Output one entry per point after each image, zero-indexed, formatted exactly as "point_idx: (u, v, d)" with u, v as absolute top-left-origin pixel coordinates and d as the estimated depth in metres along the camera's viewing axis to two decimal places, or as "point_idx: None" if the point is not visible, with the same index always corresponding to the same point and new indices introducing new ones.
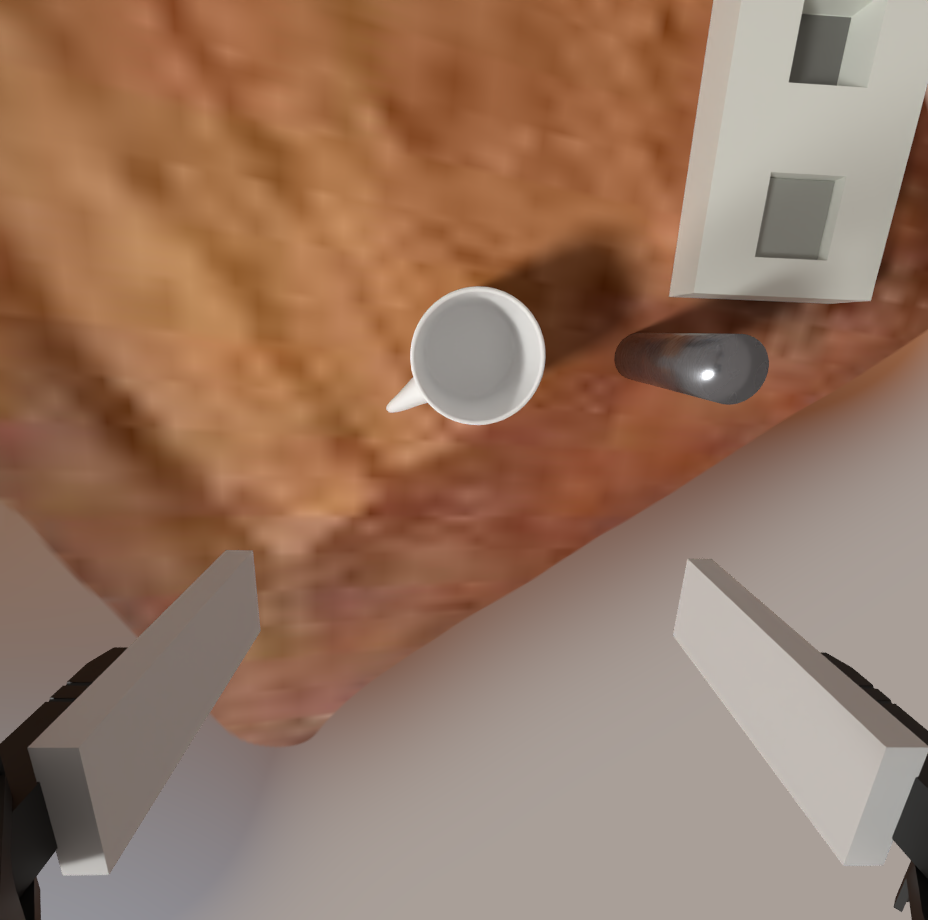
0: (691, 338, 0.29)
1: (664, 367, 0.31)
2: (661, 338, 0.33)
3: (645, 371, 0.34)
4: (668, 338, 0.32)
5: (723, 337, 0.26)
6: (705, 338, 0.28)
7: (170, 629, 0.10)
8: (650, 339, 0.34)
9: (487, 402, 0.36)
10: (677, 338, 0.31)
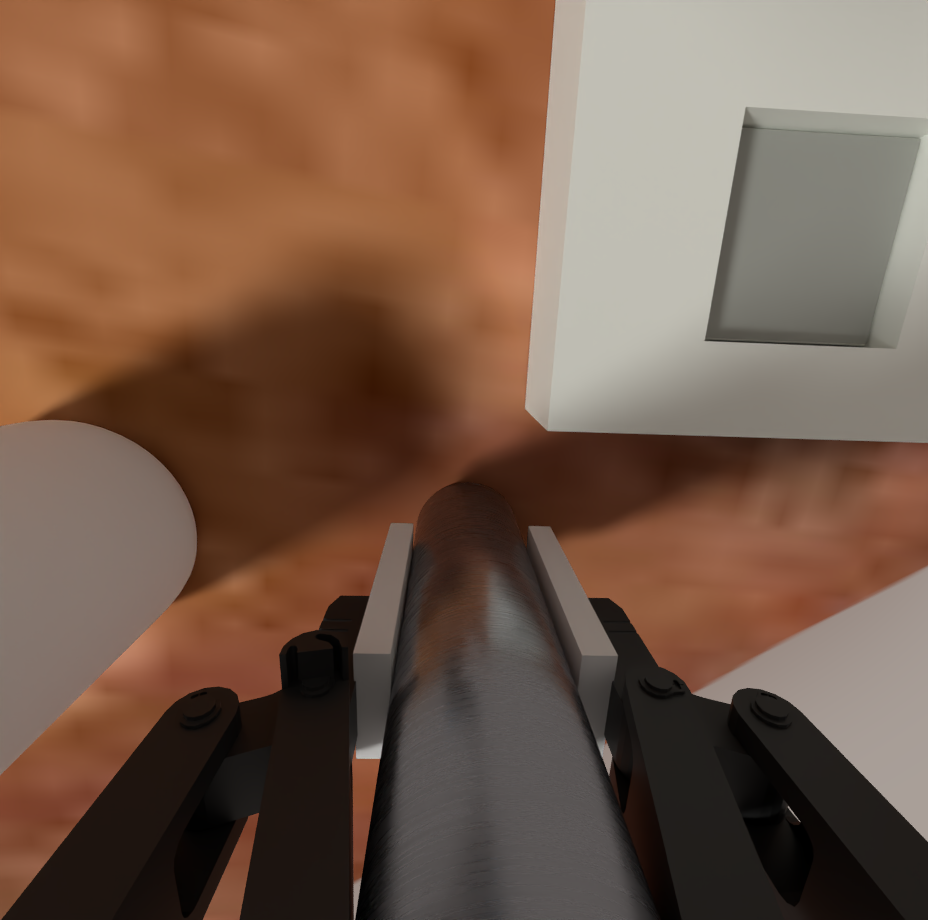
0: (429, 706, 0.08)
1: None
2: (432, 582, 0.11)
3: None
4: (431, 605, 0.10)
5: None
6: (429, 796, 0.06)
7: (393, 579, 0.12)
8: (429, 557, 0.13)
9: None
10: (431, 640, 0.09)
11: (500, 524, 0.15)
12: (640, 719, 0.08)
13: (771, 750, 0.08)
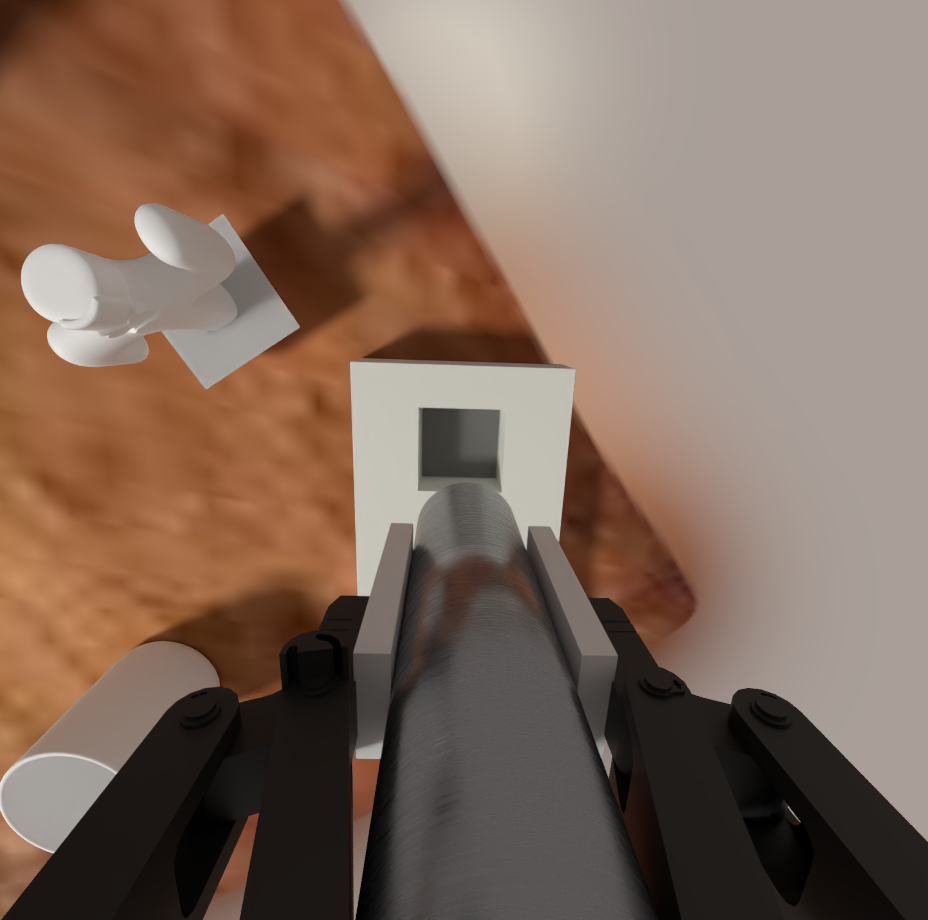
0: (430, 702, 0.08)
1: None
2: (432, 581, 0.12)
3: None
4: (431, 603, 0.11)
5: None
6: (429, 788, 0.06)
7: (393, 579, 0.12)
8: (429, 555, 0.13)
9: None
10: (431, 637, 0.09)
11: (499, 523, 0.15)
12: (640, 719, 0.08)
13: (771, 750, 0.08)
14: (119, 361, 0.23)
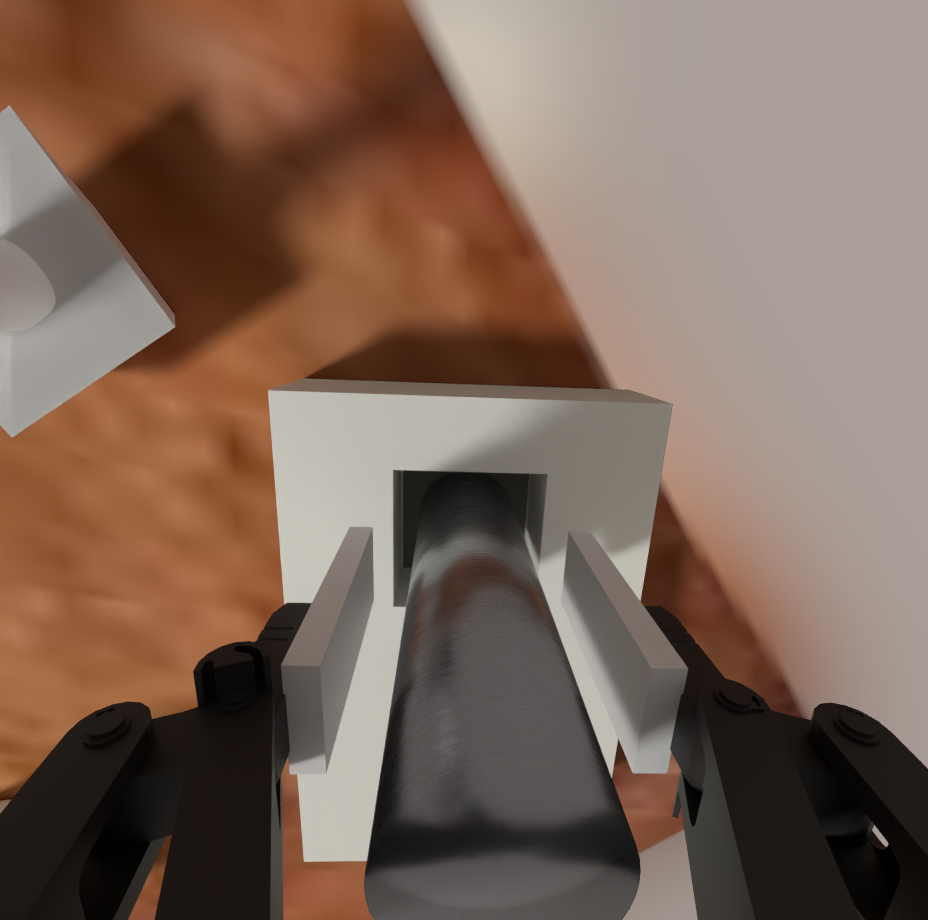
0: (435, 640, 0.09)
1: None
2: (435, 551, 0.13)
3: None
4: (435, 568, 0.12)
5: (445, 780, 0.06)
6: (435, 698, 0.08)
7: (339, 586, 0.12)
8: (433, 531, 0.15)
9: None
10: (435, 593, 0.11)
11: (496, 505, 0.16)
12: (715, 732, 0.08)
13: (855, 766, 0.07)
14: None
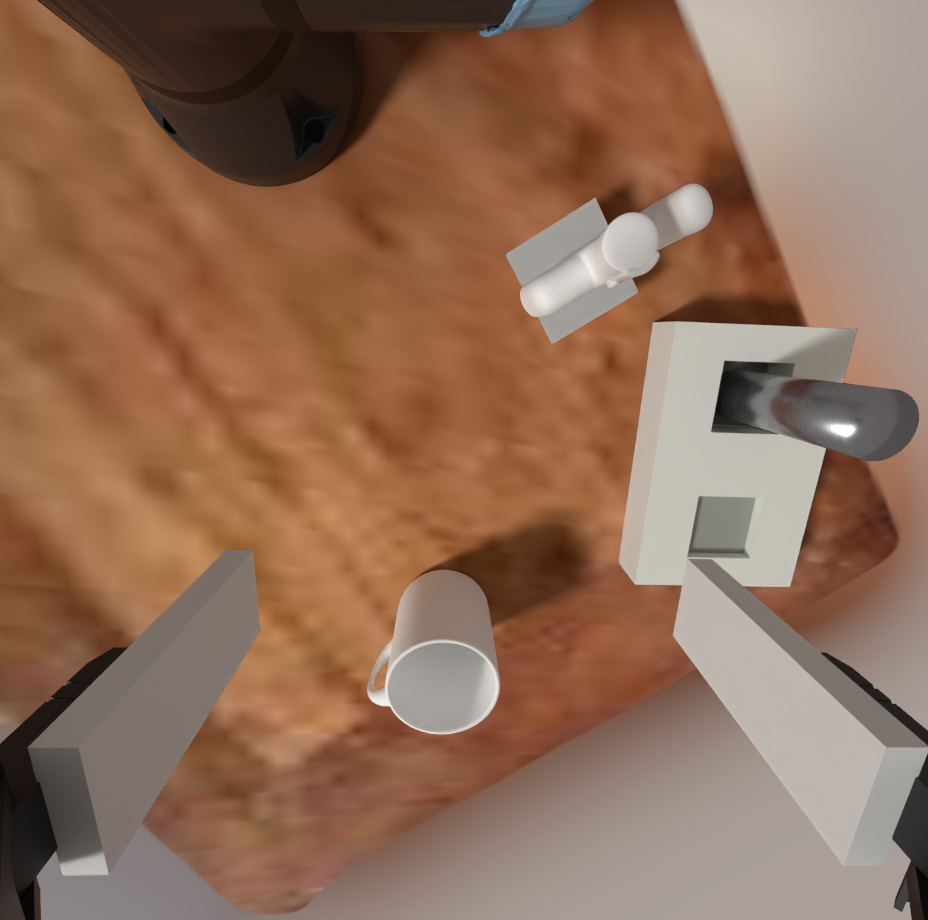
0: (823, 388, 0.28)
1: (788, 415, 0.29)
2: (776, 382, 0.32)
3: (757, 415, 0.33)
4: (787, 383, 0.31)
5: (872, 392, 0.25)
6: (845, 390, 0.26)
7: (170, 629, 0.10)
8: (759, 381, 0.33)
9: (457, 668, 0.42)
10: (801, 385, 0.29)
11: None
12: None
13: None
14: None
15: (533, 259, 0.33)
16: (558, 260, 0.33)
